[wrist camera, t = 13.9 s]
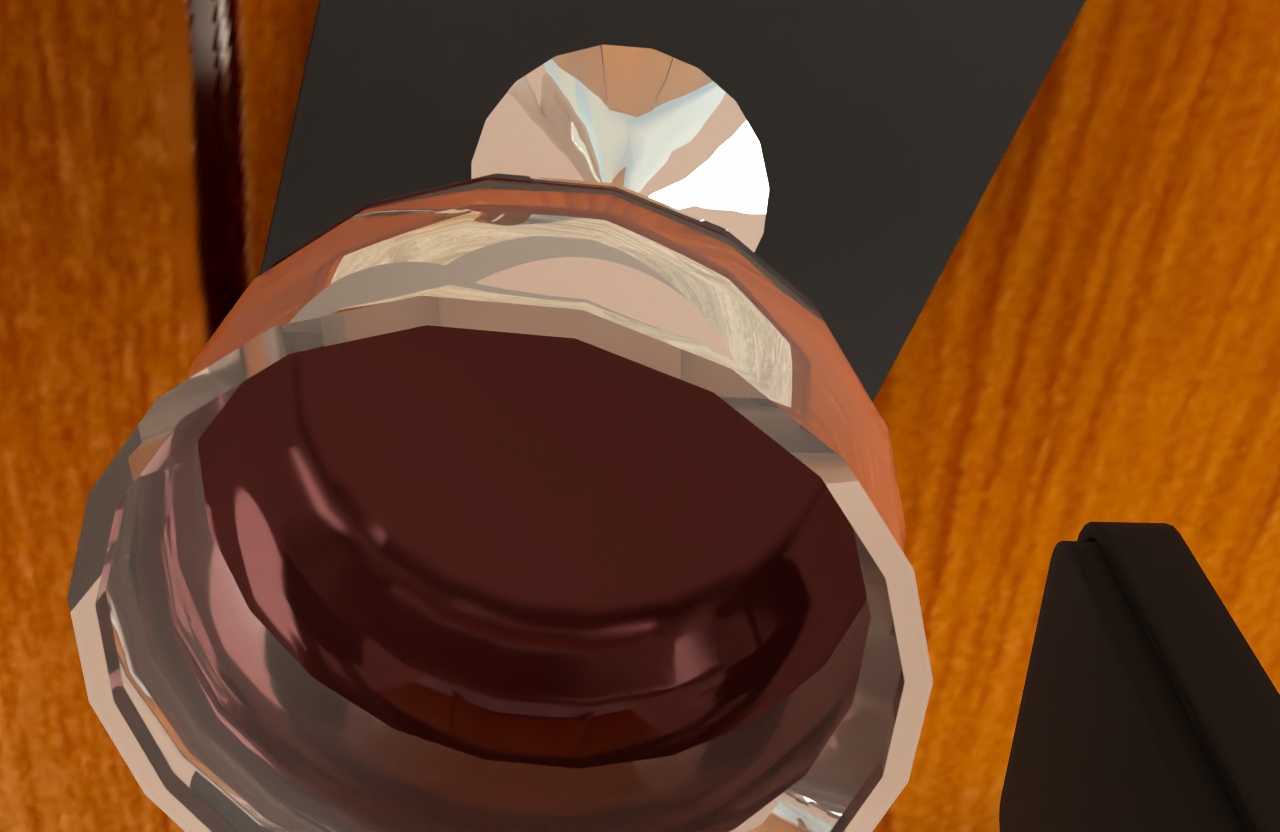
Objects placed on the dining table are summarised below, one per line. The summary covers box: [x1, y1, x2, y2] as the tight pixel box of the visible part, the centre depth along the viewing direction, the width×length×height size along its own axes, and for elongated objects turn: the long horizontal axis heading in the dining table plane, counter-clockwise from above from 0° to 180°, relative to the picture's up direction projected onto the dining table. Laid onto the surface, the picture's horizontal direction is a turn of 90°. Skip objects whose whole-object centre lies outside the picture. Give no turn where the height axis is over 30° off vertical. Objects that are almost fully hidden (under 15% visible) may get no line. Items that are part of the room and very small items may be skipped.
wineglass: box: [68, 44, 933, 832], centre depth 14 cm, size 7×7×12 cm
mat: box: [260, 0, 1086, 402], centre depth 20 cm, size 11×11×1 cm
